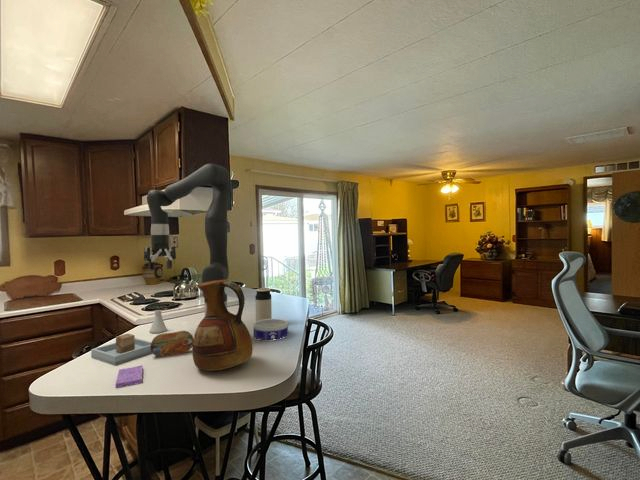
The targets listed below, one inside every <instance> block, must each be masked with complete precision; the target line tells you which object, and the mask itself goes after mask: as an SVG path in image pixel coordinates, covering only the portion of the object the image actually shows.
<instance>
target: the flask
mask: <svg viewBox="0 0 640 480" xmlns="http://www.w3.org/2000/svg"><path fill="white" fill-rule="evenodd" d="M153 312H154V317H153V322H152V324H151V327H150V330H149V333H151V334H162V333H164V332H165V333H166V332H167V331H168V328H167V326H166V324H165V322H164V319H163V316H162V313H163V310H161V309H156V310H153Z"/></svg>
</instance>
